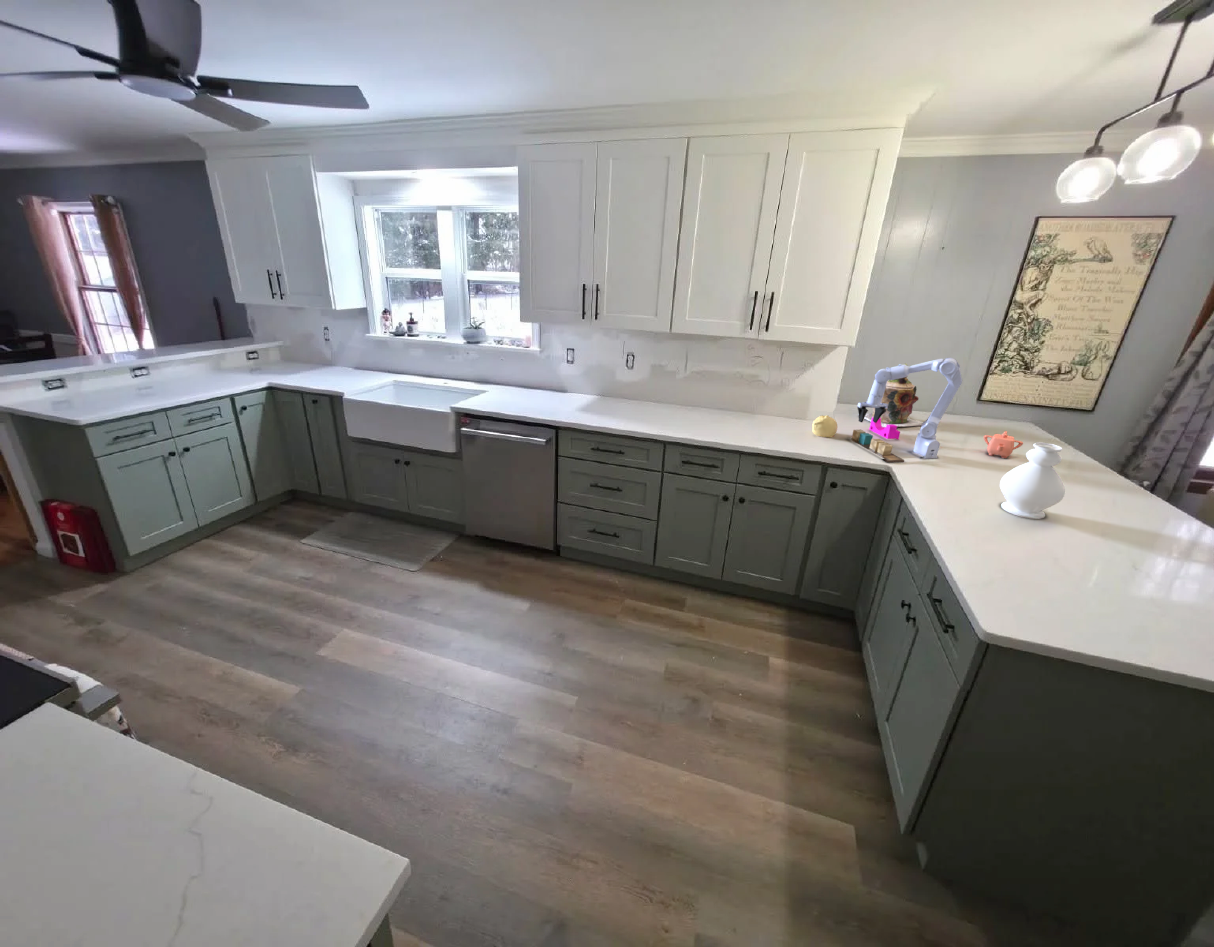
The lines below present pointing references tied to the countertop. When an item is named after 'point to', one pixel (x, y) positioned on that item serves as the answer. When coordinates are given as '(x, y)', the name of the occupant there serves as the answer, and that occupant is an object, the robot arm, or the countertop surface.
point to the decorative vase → (1034, 483)
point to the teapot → (1001, 444)
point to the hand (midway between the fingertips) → (867, 421)
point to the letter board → (877, 447)
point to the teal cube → (865, 438)
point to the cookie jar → (898, 404)
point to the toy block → (884, 430)
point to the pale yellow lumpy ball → (824, 426)
